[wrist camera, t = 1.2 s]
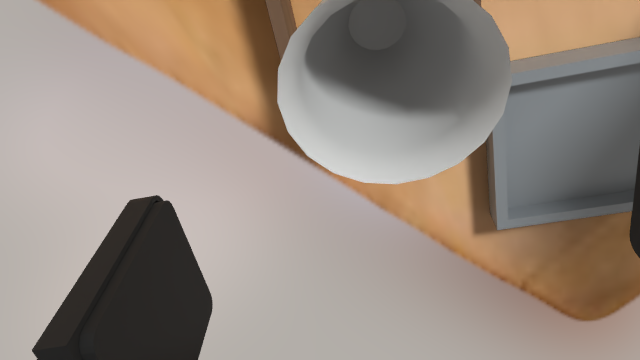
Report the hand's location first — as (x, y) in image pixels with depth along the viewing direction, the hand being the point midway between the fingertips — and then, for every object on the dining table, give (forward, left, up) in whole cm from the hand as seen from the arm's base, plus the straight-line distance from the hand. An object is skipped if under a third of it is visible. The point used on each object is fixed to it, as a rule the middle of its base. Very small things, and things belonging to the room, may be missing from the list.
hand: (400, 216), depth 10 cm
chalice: (0, 0, -25) cm, 25 cm away
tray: (-14, +12, -25) cm, 31 cm away
